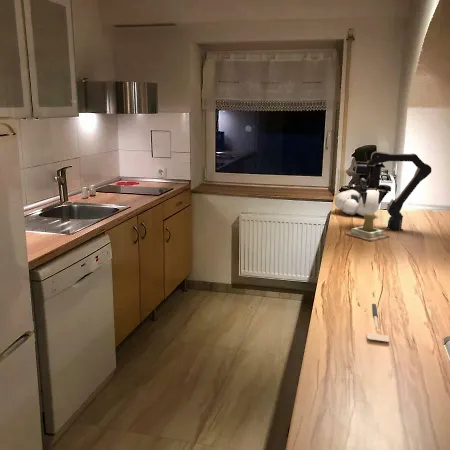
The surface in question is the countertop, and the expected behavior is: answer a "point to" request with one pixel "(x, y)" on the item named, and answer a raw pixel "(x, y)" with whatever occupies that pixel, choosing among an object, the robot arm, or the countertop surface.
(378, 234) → the shaker holder
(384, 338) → the spatula
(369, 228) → the cork
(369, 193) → the white lobed sculpture
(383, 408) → the countertop surface
